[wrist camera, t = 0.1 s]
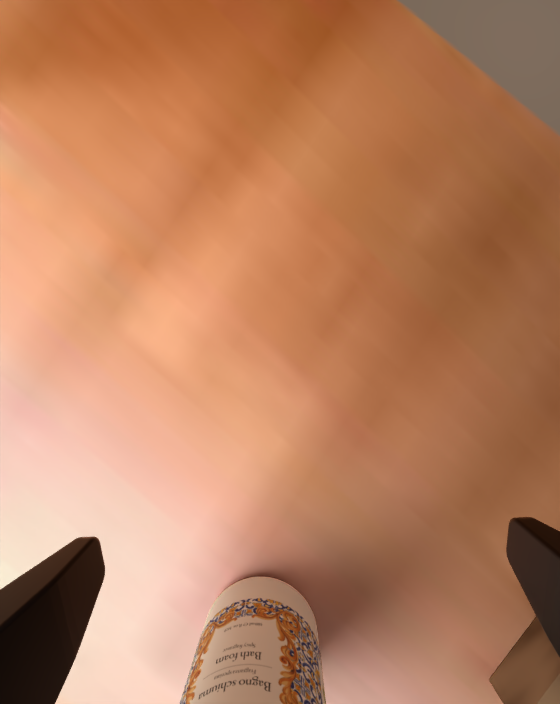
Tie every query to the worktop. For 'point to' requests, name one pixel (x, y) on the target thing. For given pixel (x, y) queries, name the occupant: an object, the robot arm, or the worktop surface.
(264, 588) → the bath foam
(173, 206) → the worktop surface
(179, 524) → the worktop surface
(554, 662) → the base block
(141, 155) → the worktop surface
